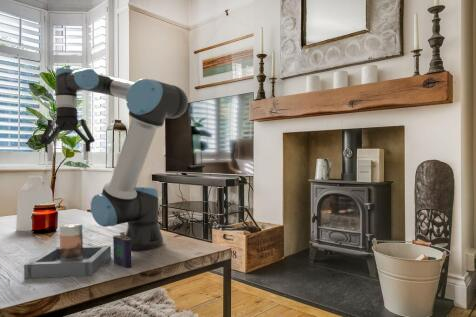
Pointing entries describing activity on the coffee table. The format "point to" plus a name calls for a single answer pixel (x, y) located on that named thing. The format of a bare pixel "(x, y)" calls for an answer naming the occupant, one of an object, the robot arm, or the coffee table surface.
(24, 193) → the milk
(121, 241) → the flask
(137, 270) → the coffee table surface
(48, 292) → the coffee table surface
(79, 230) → the glass with pinkish-brown filling
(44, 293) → the coffee table surface
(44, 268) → the tray
